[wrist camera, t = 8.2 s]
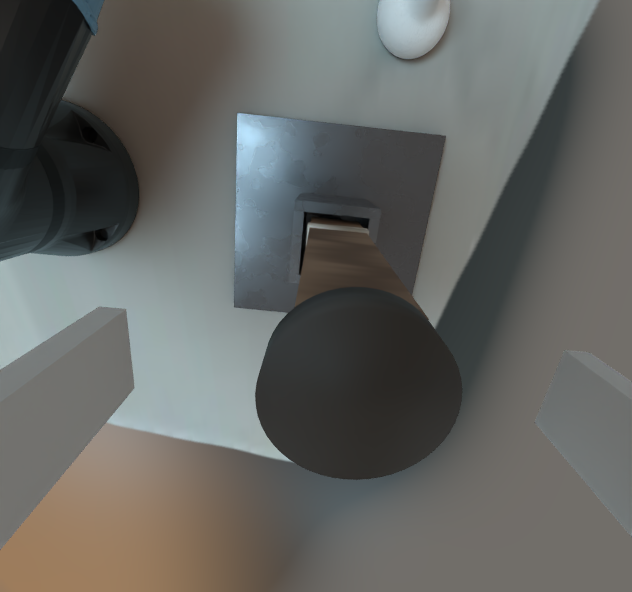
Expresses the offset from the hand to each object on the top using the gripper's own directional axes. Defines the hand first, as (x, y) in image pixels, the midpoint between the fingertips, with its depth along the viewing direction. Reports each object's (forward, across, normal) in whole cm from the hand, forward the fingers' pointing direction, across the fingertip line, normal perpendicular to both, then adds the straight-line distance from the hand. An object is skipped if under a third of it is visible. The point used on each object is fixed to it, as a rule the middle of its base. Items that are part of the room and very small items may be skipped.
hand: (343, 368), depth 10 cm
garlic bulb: (+29, +6, +19) cm, 35 cm away
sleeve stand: (+28, +1, 0) cm, 28 cm away
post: (+20, 0, 0) cm, 20 cm away
